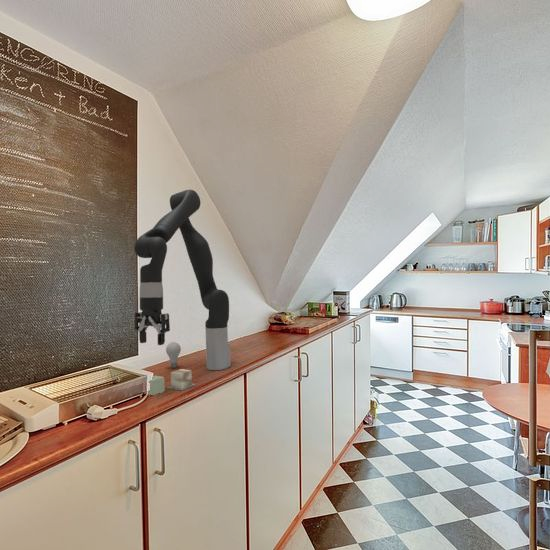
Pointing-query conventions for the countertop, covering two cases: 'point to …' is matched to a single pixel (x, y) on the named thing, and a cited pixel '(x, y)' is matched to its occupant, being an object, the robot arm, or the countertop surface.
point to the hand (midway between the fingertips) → (152, 343)
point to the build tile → (182, 388)
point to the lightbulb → (173, 353)
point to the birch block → (181, 378)
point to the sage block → (156, 385)
